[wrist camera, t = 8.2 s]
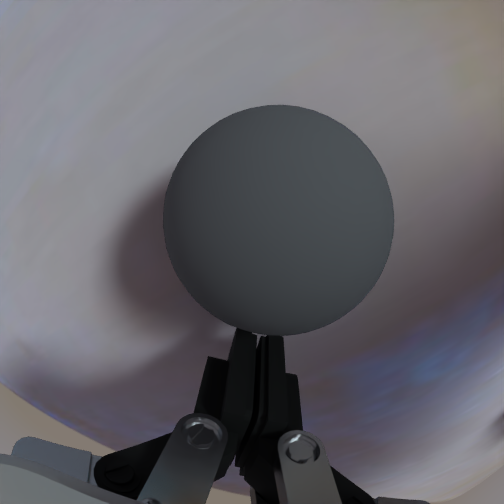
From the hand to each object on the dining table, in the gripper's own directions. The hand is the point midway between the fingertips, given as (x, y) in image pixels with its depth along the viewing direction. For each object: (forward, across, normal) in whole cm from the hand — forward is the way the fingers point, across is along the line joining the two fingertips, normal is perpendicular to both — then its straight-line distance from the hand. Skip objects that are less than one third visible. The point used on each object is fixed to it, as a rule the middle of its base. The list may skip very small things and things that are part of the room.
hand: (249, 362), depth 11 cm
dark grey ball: (-1, +1, -6) cm, 6 cm away
